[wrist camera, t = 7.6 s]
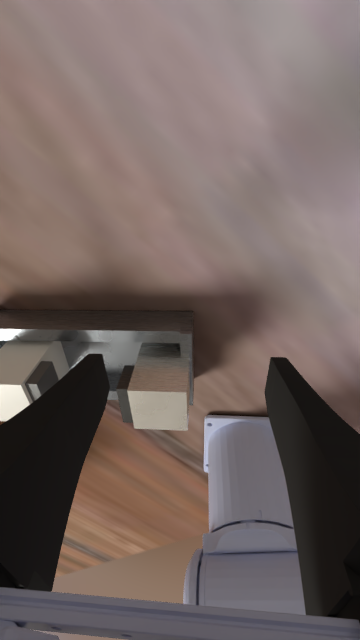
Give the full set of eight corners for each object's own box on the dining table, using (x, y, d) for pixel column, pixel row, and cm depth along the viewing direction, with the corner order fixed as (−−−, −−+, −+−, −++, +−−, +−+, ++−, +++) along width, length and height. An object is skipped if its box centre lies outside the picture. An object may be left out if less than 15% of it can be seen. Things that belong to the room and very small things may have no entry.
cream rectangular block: (14, 333, 23) (-34, 383, 18) (68, 334, 22) (33, 385, 18) (29, 367, 24) (-11, 420, 20) (78, 369, 24) (49, 423, 20)
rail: (194, 378, 25) (191, 446, 20) (23, 373, 27) (-25, 436, 21) (193, 311, 22) (189, 371, 16) (-6, 309, 23) (-73, 364, 17)
